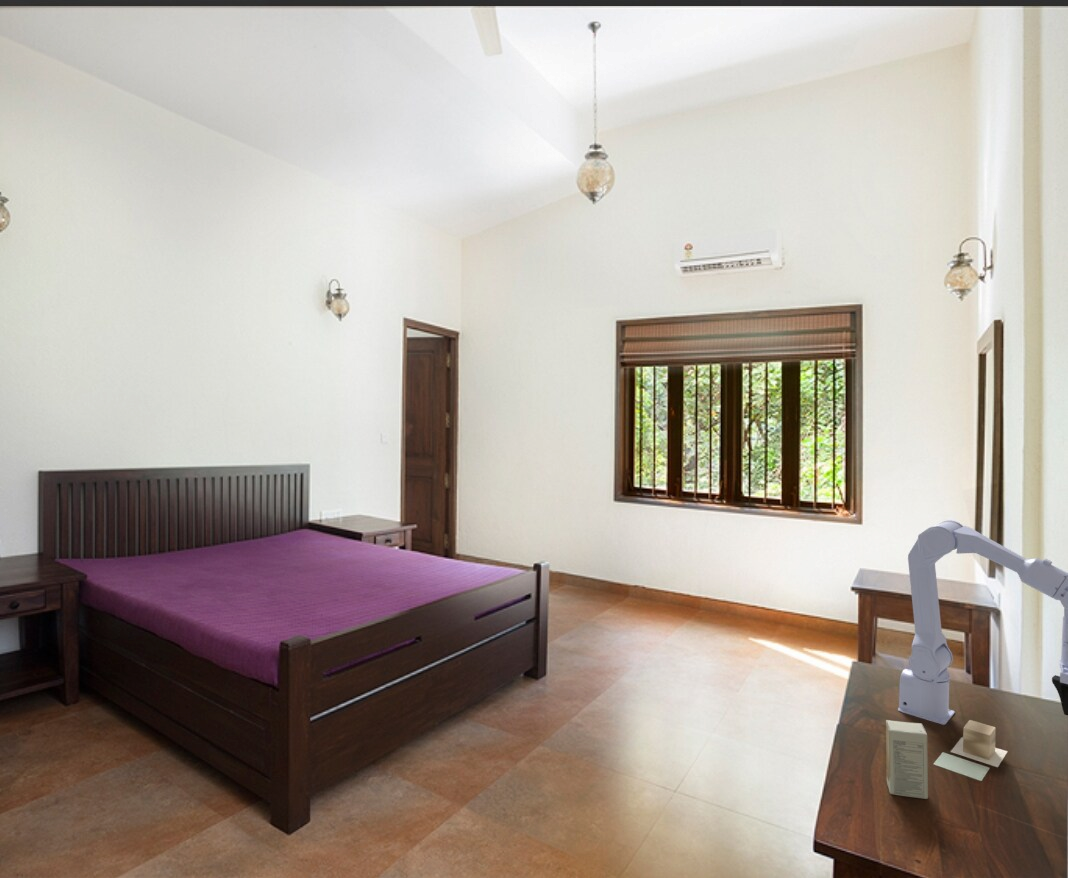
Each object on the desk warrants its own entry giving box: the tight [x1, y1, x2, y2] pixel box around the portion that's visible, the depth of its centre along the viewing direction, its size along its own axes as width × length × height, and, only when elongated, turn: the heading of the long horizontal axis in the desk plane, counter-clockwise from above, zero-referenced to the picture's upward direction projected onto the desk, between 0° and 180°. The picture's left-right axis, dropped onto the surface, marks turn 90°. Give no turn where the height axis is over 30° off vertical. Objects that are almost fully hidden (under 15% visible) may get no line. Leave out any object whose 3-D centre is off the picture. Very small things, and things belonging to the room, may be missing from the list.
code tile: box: [950, 736, 1008, 768], centre depth 133 cm, size 8×8×1 cm
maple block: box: [962, 719, 997, 760], centre depth 133 cm, size 4×4×5 cm
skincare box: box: [885, 719, 929, 800], centre depth 121 cm, size 6×4×12 cm
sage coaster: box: [933, 752, 991, 782], centre depth 128 cm, size 8×6×1 cm
